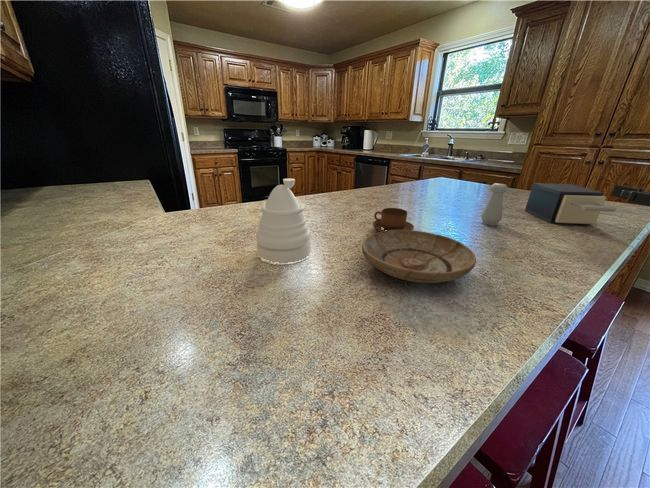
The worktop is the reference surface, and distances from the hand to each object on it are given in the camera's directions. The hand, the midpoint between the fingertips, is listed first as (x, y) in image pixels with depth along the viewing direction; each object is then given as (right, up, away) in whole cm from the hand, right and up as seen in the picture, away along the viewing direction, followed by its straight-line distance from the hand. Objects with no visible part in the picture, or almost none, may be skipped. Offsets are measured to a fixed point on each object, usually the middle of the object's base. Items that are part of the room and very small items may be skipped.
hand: (644, 191), depth 67 cm
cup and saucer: (-59, -9, +14) cm, 62 cm away
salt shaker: (-26, -7, +21) cm, 34 cm away
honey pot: (-90, -16, -1) cm, 91 cm away
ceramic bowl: (-60, -18, -7) cm, 63 cm away
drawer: (+2, -5, +23) cm, 24 cm away
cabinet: (+2, -4, +29) cm, 29 cm away
